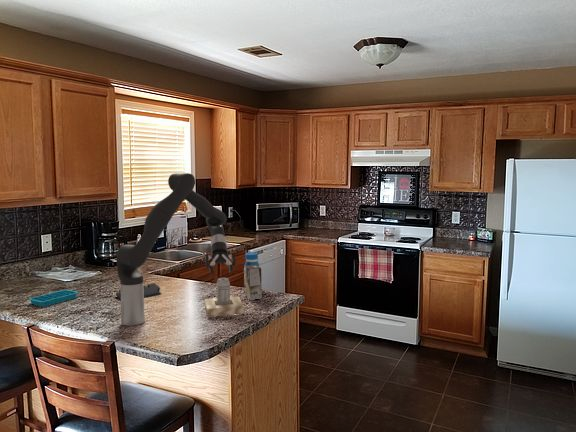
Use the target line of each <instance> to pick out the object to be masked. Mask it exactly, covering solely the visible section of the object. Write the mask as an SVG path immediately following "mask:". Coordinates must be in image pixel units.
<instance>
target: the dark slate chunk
mask: <svg viewBox="0 0 576 432" xmlns="http://www.w3.org/2000/svg"><path fill="white" fill-rule="evenodd" d="M160 290H161V287H160V286H159V285H157V284H156V283H155V282H153V283H149V284H146V285H144V299H145V298H152V297H157V296H161V295H163V293H162V292H160ZM115 296H116V297H117V298H118V299H120V300H121V291H117V292H116V293H115Z"/></svg>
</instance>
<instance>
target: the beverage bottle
mask: <svg viewBox="0 0 576 432" xmlns="http://www.w3.org/2000/svg"><path fill="white" fill-rule="evenodd" d="M244 254H245V255H244V257H245V258H244V259H245V260H246V261H245V263H244V265H243V267H244V268H243V274H244V275H243V276H244V277H243V278H244V280H243V281H244V286H243V287H244V288H246V283H245V266H249V265H257V266H259V267H260V263H259V262H258V261H259V260H258V259H259V254H258V252H251V251H250V252H246V253H244ZM244 290H245V291H246V289H244Z"/></svg>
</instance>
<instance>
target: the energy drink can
mask: <svg viewBox="0 0 576 432" xmlns="http://www.w3.org/2000/svg"><path fill="white" fill-rule="evenodd" d="M230 297H231V282H230V280H229V277H219V278H217V281H216V298H217V305H230Z"/></svg>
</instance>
